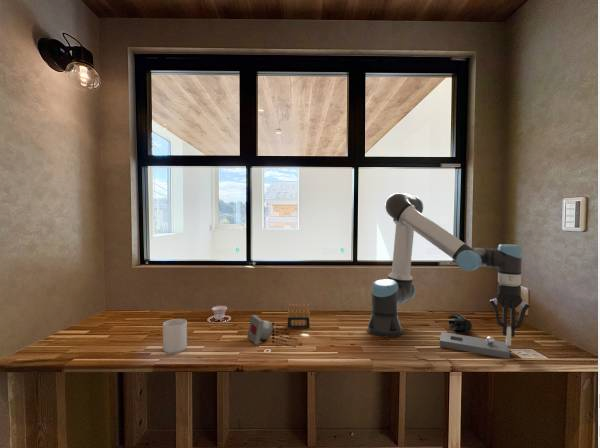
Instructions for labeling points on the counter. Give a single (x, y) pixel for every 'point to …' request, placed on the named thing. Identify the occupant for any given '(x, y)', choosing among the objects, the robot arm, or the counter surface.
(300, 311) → the ammunition clip
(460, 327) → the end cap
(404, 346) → the counter surface
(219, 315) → the teacup
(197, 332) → the counter surface
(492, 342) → the steel ball
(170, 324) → the mug
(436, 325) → the counter surface
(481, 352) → the hole plate
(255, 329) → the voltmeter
